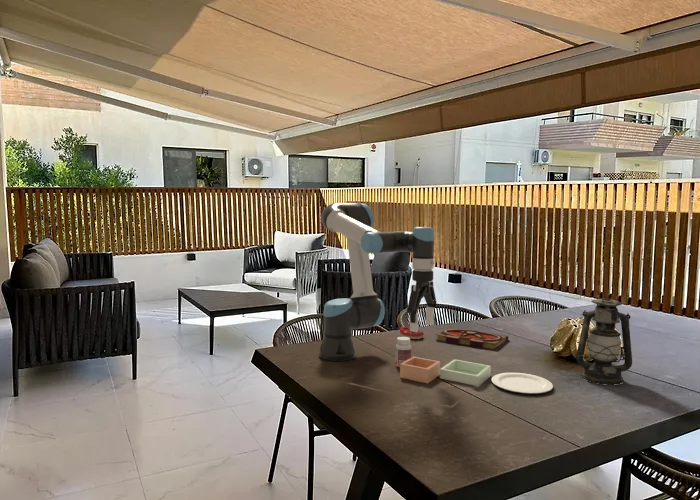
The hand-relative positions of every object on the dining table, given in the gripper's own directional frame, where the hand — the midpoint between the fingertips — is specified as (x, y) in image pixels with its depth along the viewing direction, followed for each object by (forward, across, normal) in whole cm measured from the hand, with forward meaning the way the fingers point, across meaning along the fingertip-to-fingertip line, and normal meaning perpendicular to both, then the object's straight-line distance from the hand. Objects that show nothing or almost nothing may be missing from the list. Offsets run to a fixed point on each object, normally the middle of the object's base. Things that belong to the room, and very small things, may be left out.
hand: (422, 327), depth 190 cm
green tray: (+19, +9, -13) cm, 25 cm away
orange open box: (+19, 0, +1) cm, 19 cm away
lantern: (+19, +35, -56) cm, 69 cm away
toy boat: (+18, +50, +28) cm, 61 cm away
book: (+19, +61, +2) cm, 64 cm away
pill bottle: (+19, +8, +12) cm, 24 cm away
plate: (+20, +13, -33) cm, 40 cm away
